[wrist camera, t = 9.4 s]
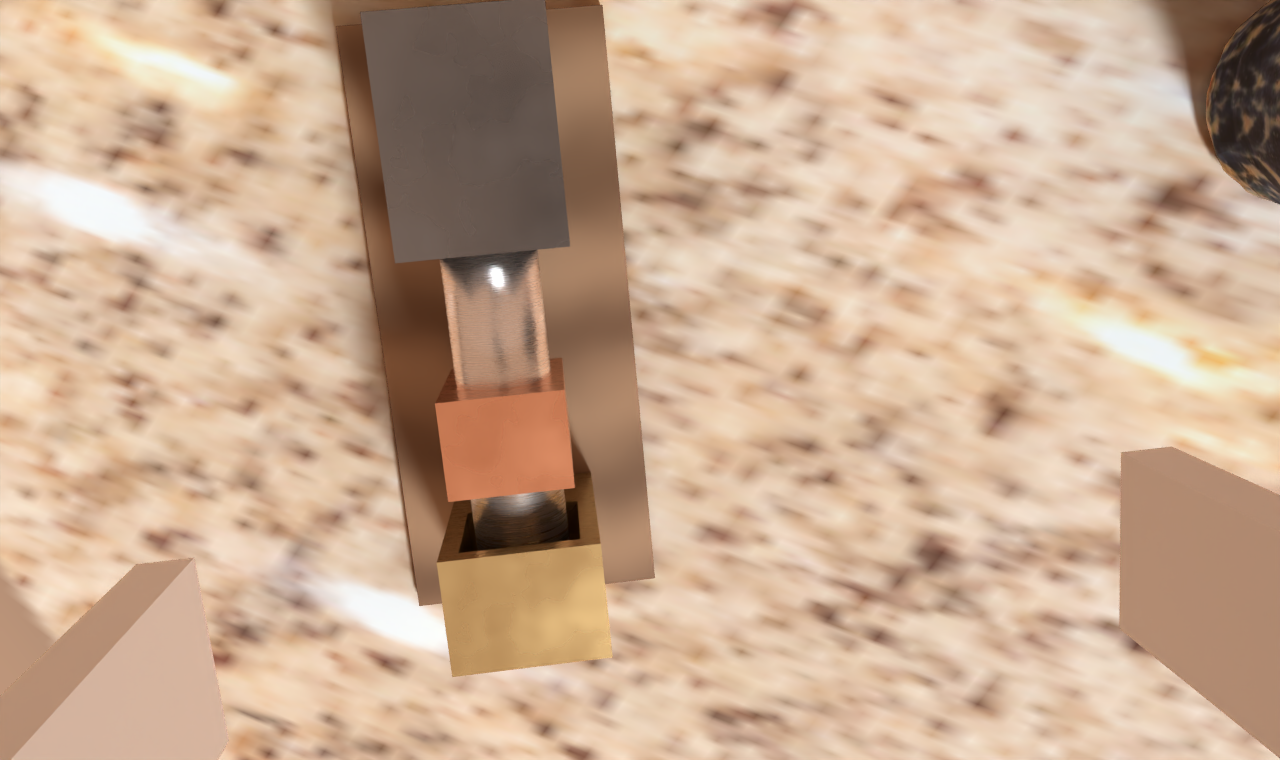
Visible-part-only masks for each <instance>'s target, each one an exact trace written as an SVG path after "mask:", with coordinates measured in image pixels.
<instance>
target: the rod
mask: <svg viewBox="0 0 1280 760" xmlns="http://www.w3.org/2000/svg"><path fill="white" fill-rule="evenodd" d="M440 267H441V274H442V282H443V290H444V297H445V305H446V313H447V321H448V328H449V336H450V344H451V351H452V359H453V367H454V369H451V371H450V373H449V375H448V377H447V380H446V382H445V384H444V386H443V388H442V390H441V392H440V394H439V396H438V398H437V400H436V402H435V408H436V415H437V423H438V430H439V438H440V445H441V452H442V460H443V467H444V475H445V482H446V490H447V497H448V502H453V501H462V500H471V506H472V513H473V521H474V529H475V537H476V544H477V551H481V550H490V549H498V548H507V547H516V546H524V545H533V544H542V543H550V542H559V541H568V540H569V531H568V522H567V513H566V503H565V494H564V489H569V488H575V484H574V471H573V459H572V447H571V436H570V427H569V417H568V408H567V399H566V389H565V380H564V371H563V361H562V357H561V358H552V359H550V357H549V348H548V339H547V330H546V321H545V311H544V302H543V293H542V284H541V275H540V266H539V257H538V250H529V251H519V252H508V253H498V254H487V255H477V256H467V257H456V258H446V259H440Z"/></svg>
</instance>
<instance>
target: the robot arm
mask: <svg viewBox="0 0 1280 760" xmlns="http://www.w3.org/2000/svg"><path fill="white" fill-rule="evenodd" d="M1119 629H1121V630H1122V631H1123V632H1124V633H1125V634H1127V635H1128V636H1129V637H1130V638H1132V639H1133V640H1134V641H1135V642H1137V643H1138V644H1139V645H1140V646H1142V647H1143V648H1144V649H1145V650H1147V651H1148V652H1149V653H1150V654H1151V655H1153V656H1154V657H1155V658H1156V659H1158V660H1159V661H1160V662H1161V663H1163V664H1164V665H1165V666H1166V667H1168V668H1169V669H1170V670H1171V671H1172V672H1174V673H1175V674H1176V675H1177V676H1179V677H1180V678H1181V679H1182V680H1184V681H1185V682H1186V683H1187V684H1189V685H1190V686H1191V687H1192V688H1194V689H1195V690H1196V691H1197V692H1198V693H1200V694H1201V695H1202V696H1203V697H1205V698H1206V699H1207V700H1208V701H1210V702H1211V703H1212V704H1213V705H1215V706H1216V707H1217V708H1218V709H1219V710H1221V711H1222V712H1223V713H1224V714H1226V715H1227V716H1228V717H1229V718H1231V719H1232V720H1233V721H1234V722H1236V723H1237V724H1238V725H1239V726H1241V727H1242V728H1243V729H1244V730H1245V731H1247V732H1248V733H1249V734H1250V735H1252V736H1253V737H1254V738H1255V739H1257V740H1258V741H1259V742H1260V743H1262V744H1263V745H1264V746H1265V747H1266V748H1268V749H1269V750H1270V751H1271V752H1273V753H1274V754H1275V755H1276V756H1278V757H1279V758H1280V495H1278V494H1276V493H1274V492H1272V491H1269V490H1267V489H1265V488H1263V487H1260V486H1258V485H1256V484H1254V483H1252V482H1249V481H1247V480H1245V479H1243V478H1240V477H1238V476H1236V475H1234V474H1231V473H1229V472H1227V471H1225V470H1223V469H1220V468H1218V467H1216V466H1214V465H1211V464H1209V463H1207V462H1205V461H1203V460H1200V459H1198V458H1196V457H1194V456H1191V455H1189V454H1187V453H1185V452H1182V451H1180V450H1178V449H1176V448H1174V447H1165V448H1156V449H1148V450H1139V451H1130V452H1121V515H1120V620H1119ZM228 741H229V737H228V732H227V727H226V722H225V716H224V711H223V706H222V701H221V695H220V690H219V685H218V680H217V674H216V669H215V664H214V659H213V654H212V648H211V643H210V638H209V633H208V627H207V622H206V617H205V612H204V606H203V601H202V596H201V591H200V585H199V580H198V575H197V570H196V565H195V559H194V558H188V559H179V560H170V561H162V562H153V563H144V564H136V565H135V566H134V567H133V568H132V569H131V570H130V571H129V572H128V573H127V574H126V575H125V576H124V577H123V578H122V579H121V580H120V581H119V582H118V583H117V584H116V585H115V586H114V587H113V588H111V589H110V590H109V591H108V592H107V593H106V594H105V595H104V596H103V597H102V598H101V599H100V600H99V601H98V602H97V603H96V604H95V605H94V606H93V607H92V608H91V609H90V610H89V611H88V612H87V613H85V614H84V615H83V616H82V617H81V618H80V619H79V620H78V621H77V622H76V623H75V624H74V625H73V626H72V627H71V628H70V629H69V630H68V631H67V632H66V633H65V634H64V635H63V636H62V637H61V638H60V639H58V640H57V641H56V642H55V643H54V644H53V645H52V646H51V647H50V648H49V649H48V650H47V651H46V652H45V653H44V654H43V655H42V656H41V657H40V658H39V659H38V660H37V661H36V662H35V663H34V664H33V665H31V667H29V668H28V669H27V670H26V671H25V672H24V673H23V674H22V675H21V676H20V677H19V678H18V679H17V680H16V681H15V682H14V683H13V684H12V685H11V686H10V687H9V688H8V689H7V690H6V691H4V693H2V694H1V695H0V760H218V759H219V757H220V756H221V754H222V752H223V750H224V748H225V747H226V745H227V743H228Z"/></svg>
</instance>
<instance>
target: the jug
mask: <svg viewBox="0 0 1280 760" xmlns="http://www.w3.org/2000/svg"><path fill="white" fill-rule="evenodd" d="M1206 122H1207V126H1208V129H1209V133H1210V136H1211V139H1212V143H1213V146H1214V150H1215V153H1216V156H1217V158H1218V160H1219V161H1220V164H1221V166H1222V168H1223V170H1224V171H1225V172H1226V173H1227V174H1228V175H1229V176H1230V177H1231V178H1233V179H1234V180H1235V181H1237V182H1238V183H1239V184H1240V185H1241V186H1242V187H1243V188H1244V189H1245V190H1246V191H1247V192H1248V193H1251V194H1253V195H1255V196H1257V197H1259V198H1261V199H1264V200H1268V201H1272V202H1275V203H1278V204H1280V0H1271V1H1270V2H1268V3H1267V4H1266V5H1265V6H1263V7H1262V8H1261V9H1260V10H1258V11H1257V12H1256V13H1255V14H1254V15H1253V16H1251V17H1250V18H1249V19H1248V20H1247V21H1246V22H1245V23H1244V24H1242V25H1241V26H1240V27H1239V28H1238V29H1237V30H1236V31H1235V33H1234V34H1233V36H1232V37H1231V39H1230V40H1229V41H1228V43H1227V44H1226V46H1225V47H1224V50H1223V53H1222V55H1221V58H1220V61H1219V63H1218V65H1217V67H1216V69H1215V71H1214V73H1213V75H1212V79H1211V82H1210V85H1209V88H1208V92H1207V101H1206Z"/></svg>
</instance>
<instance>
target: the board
mask: <svg viewBox="0 0 1280 760" xmlns="http://www.w3.org/2000/svg"><path fill="white" fill-rule="evenodd" d="M546 15H547V25H548V34H549V44H550V54H551V64H552V73H553V83H554V93H555V103H556V112H557V122H558V132H559V142H560V151H561V161H562V171H563V180H564V190H565V200H566V210H567V219H568V229H569V239H570V247H560V248H550V249H539V250H538V257H539V266H540V275H541V284H542V293H543V302H544V311H545V321H546V330H547V339H548V348H549V357H550V359H552V358H561V357H562V361H563V371H564V380H565V389H566V399H567V408H568V417H569V427H570V436H571V447H572V459H573V471H574V474H579V473H588V472H591V476H592V483H593V491H594V498H595V505H596V512H597V520H598V527H599V534H600V542H601V550H602V560H603V570H604V580H605V584H609V583H618V582H626V581H635V580H643V579H652V578H655V574H654V563H653V552H652V541H651V530H650V519H649V508H648V498H647V487H646V476H645V465H644V454H643V443H642V432H641V421H640V410H639V399H638V389H637V378H636V367H635V356H634V345H633V334H632V323H631V312H630V301H629V290H628V279H627V269H626V258H625V247H624V236H623V225H622V214H621V203H620V192H619V181H618V170H617V160H616V149H615V138H614V127H613V116H612V105H611V94H610V83H609V72H608V61H607V50H606V40H605V29H604V18H603V7H602V5H594V6H582V7H570V8H557V9H546ZM336 30H337V37H338V44H339V50H340V57H341V64H342V71H343V78H344V85H345V92H346V99H347V106H348V113H349V120H350V127H351V134H352V141H353V148H354V155H355V162H356V169H357V176H358V183H359V189H360V196H361V203H362V210H363V217H364V224H365V231H366V238H367V245H368V252H369V259H370V266H371V273H372V280H373V287H374V294H375V301H376V308H377V315H378V322H379V329H380V335H381V342H382V349H383V356H384V363H385V370H386V377H387V384H388V391H389V398H390V405H391V412H392V419H393V426H394V433H395V440H396V447H397V454H398V461H399V468H400V475H401V481H402V488H403V495H404V502H405V509H406V516H407V523H408V530H409V537H410V544H411V551H412V558H413V565H414V572H415V579H416V586H417V593H418V600H419V606H423V605H432V604H440V603H442V598H441V591H440V583H439V576H438V569H437V560H438V556H439V553H440V549H441V546H442V542H443V539H444V535H445V531H446V528H447V524H448V521H449V517H450V514H451V510H452V507H453V503H454V501H453V502H448V497H447V490H446V482H445V475H444V467H443V460H442V452H441V445H440V438H439V430H438V423H437V415H436V408H435V402H436V400H437V398H438V396H439V394H440V392H441V390H442V388H443V386H444V384H445V382H446V380H447V377H448V375H449V373H450V371H451V369H454V367H453V359H452V351H451V344H450V336H449V328H448V321H447V313H446V305H445V297H444V290H443V282H442V274H441V267H440V259H436V260H425V261H415V262H404V263H395V259H394V252H393V245H392V238H391V230H390V223H389V216H388V209H387V202H386V194H385V187H384V180H383V173H382V165H381V158H380V151H379V144H378V137H377V129H376V122H375V115H374V108H373V101H372V93H371V86H370V79H369V72H368V65H367V57H366V50H365V43H364V36H363V29H362V24H359V25H347V26H336Z"/></svg>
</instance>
